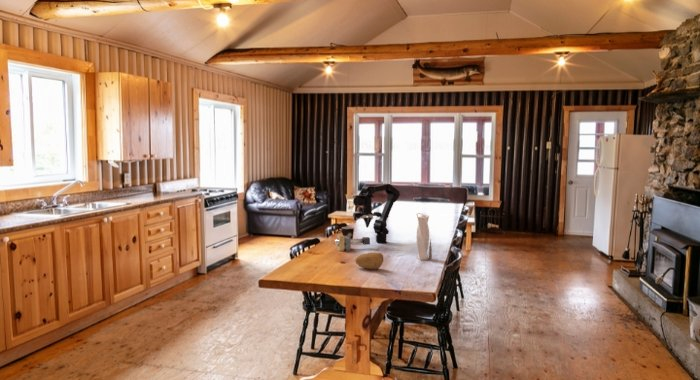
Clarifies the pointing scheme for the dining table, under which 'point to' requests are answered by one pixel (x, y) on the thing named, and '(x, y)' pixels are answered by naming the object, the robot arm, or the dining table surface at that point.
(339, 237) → the spacer
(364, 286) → the dining table surface
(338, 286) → the dining table surface
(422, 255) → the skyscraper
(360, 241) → the shaft
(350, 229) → the coffee mug
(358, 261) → the potato
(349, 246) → the pillow block
